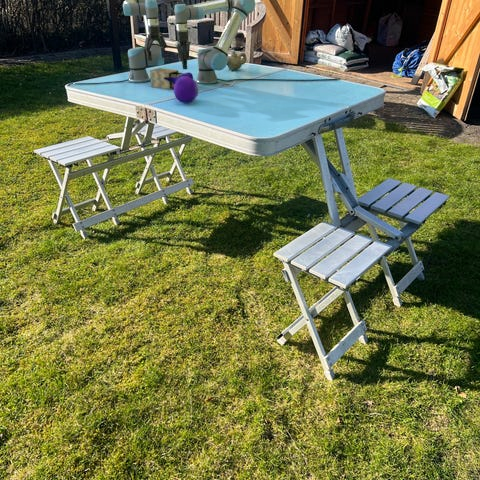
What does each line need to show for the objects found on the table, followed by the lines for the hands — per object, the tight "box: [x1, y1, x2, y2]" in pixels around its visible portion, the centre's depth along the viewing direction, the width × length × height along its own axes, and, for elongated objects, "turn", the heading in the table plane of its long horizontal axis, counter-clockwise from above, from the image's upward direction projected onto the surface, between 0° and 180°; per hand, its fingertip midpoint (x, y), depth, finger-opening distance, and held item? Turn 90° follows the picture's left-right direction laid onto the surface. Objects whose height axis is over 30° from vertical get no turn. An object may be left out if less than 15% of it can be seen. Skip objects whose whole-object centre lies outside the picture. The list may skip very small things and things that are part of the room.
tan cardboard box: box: [149, 67, 180, 90], centre depth 317 cm, size 18×10×11 cm, turn 56°
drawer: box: [169, 71, 186, 88], centre depth 311 cm, size 22×9×9 cm, turn 56°
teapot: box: [226, 50, 247, 72], centre depth 367 cm, size 21×12×15 cm, turn 120°
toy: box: [164, 72, 199, 104], centre depth 277 cm, size 16×18×27 cm
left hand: (156, 59), depth 314 cm, fingers open, 13 cm apart
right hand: (185, 69), depth 303 cm, fingers closed
